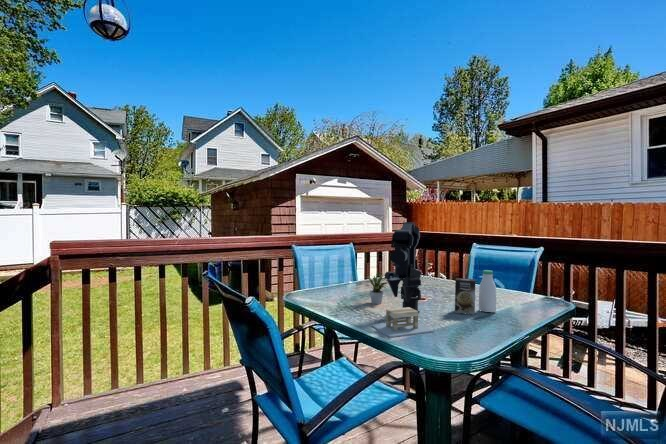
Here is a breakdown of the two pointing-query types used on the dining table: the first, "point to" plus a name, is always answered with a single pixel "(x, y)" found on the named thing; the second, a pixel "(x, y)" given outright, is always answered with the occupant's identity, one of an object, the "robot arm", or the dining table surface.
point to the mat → (401, 329)
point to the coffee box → (465, 296)
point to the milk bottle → (487, 292)
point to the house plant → (376, 290)
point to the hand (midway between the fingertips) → (401, 299)
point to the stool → (400, 313)
